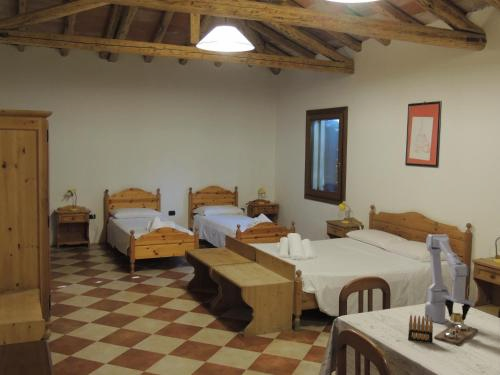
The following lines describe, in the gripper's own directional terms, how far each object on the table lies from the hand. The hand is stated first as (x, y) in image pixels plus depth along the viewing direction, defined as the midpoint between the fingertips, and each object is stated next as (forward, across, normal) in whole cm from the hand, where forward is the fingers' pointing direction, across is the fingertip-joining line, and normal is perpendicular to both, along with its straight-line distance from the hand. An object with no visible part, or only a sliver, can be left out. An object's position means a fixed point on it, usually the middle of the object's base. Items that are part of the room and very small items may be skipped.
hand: (457, 317), depth 239 cm
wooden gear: (+1, 0, 0) cm, 1 cm away
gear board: (+8, 0, 0) cm, 8 cm away
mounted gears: (+7, 0, 0) cm, 7 cm away
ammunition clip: (+9, -9, -19) cm, 23 cm away
